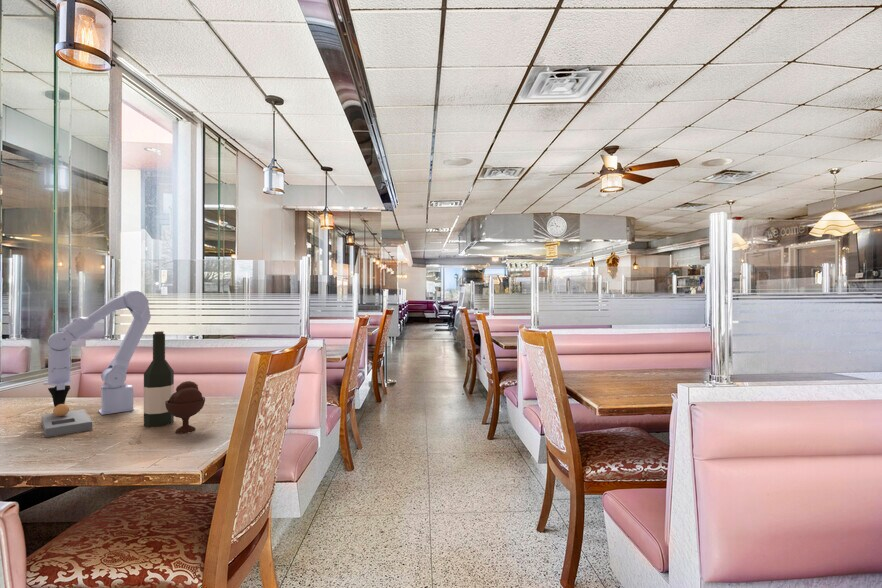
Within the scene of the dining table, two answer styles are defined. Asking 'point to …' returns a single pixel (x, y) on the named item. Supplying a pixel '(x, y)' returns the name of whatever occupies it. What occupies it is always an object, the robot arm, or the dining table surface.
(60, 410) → the ball
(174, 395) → the ice cream bowl
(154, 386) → the wine bottle
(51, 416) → the board
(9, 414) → the dining table surface
